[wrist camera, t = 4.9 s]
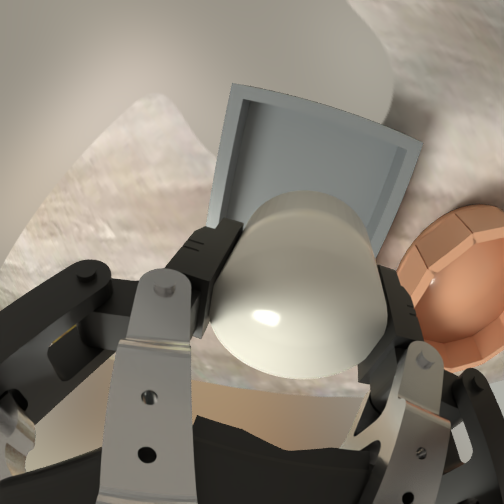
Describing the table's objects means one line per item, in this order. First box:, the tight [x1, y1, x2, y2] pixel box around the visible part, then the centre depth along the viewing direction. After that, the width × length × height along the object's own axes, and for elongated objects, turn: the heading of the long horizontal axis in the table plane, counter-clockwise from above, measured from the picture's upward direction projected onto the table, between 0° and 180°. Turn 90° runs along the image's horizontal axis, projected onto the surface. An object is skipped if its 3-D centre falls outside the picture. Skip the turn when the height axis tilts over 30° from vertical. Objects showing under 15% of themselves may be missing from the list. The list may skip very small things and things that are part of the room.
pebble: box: [209, 190, 388, 379], centre depth 9 cm, size 5×5×4 cm
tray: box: [206, 83, 423, 259], centre depth 24 cm, size 20×14×4 cm
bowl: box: [396, 204, 504, 373], centre depth 22 cm, size 18×18×5 cm
